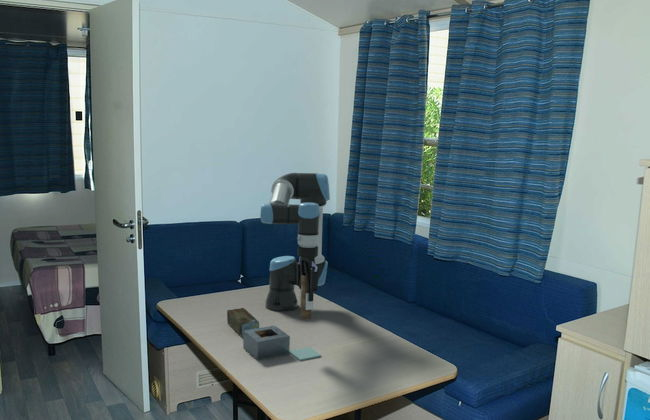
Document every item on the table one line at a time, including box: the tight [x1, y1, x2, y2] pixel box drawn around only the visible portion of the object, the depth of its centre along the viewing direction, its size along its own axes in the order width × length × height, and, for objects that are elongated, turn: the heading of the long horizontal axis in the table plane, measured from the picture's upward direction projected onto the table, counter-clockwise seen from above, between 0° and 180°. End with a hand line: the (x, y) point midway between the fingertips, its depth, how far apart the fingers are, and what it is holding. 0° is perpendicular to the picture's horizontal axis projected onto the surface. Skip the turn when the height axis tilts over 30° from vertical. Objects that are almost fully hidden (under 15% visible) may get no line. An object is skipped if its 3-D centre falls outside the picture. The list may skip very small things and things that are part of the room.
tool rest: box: [289, 346, 322, 362], centre depth 223 cm, size 9×9×1 cm
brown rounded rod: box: [300, 274, 313, 320], centre depth 220 cm, size 4×4×16 cm
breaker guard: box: [242, 325, 291, 361], centre depth 225 cm, size 13×13×7 cm
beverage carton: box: [226, 307, 260, 338], centre depth 248 cm, size 8×19×7 cm, turn 27°
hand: (306, 307), depth 221 cm, fingers closed on brown rounded rod, 4 cm apart
